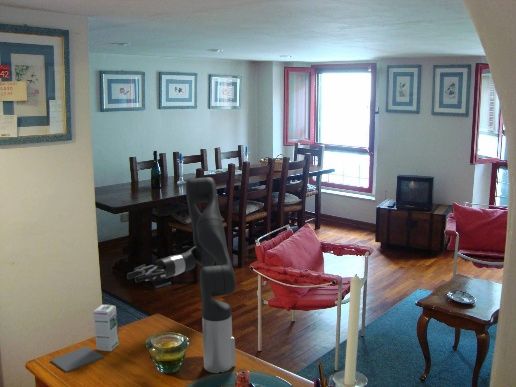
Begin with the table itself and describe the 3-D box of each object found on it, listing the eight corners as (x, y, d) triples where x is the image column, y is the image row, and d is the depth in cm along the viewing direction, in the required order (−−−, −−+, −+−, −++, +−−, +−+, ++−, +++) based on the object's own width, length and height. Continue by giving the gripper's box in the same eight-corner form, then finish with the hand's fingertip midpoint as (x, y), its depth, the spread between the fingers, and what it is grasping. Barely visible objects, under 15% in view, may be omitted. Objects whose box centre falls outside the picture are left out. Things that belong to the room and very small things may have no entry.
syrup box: (111, 351, 180) (108, 311, 177) (95, 350, 181) (92, 310, 179) (119, 344, 186) (116, 305, 183) (103, 342, 187) (101, 303, 184)
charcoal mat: (86, 347, 184) (86, 345, 183) (103, 357, 176) (103, 356, 176) (50, 361, 174) (50, 359, 174) (66, 372, 167) (66, 371, 167)
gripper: (158, 253, 204) (119, 264, 191) (181, 260, 194) (142, 272, 182) (159, 272, 205) (121, 283, 193) (182, 280, 195) (143, 293, 183)
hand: (131, 278), depth 187 cm, fingers open, 4 cm apart
